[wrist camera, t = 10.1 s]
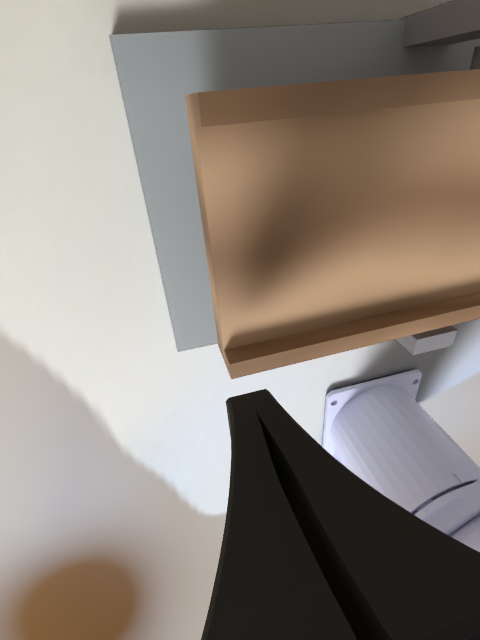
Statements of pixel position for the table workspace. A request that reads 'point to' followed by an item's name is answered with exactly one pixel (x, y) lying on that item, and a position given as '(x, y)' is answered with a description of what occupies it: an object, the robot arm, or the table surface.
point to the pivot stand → (249, 72)
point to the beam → (338, 212)
